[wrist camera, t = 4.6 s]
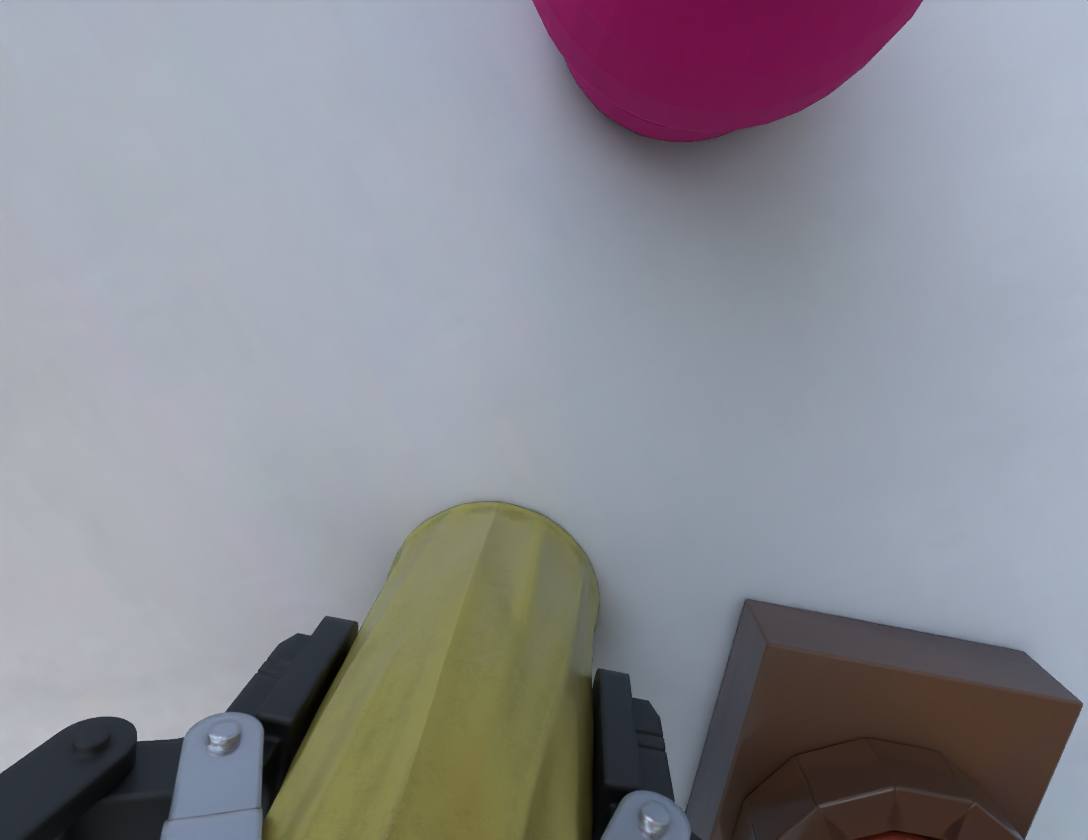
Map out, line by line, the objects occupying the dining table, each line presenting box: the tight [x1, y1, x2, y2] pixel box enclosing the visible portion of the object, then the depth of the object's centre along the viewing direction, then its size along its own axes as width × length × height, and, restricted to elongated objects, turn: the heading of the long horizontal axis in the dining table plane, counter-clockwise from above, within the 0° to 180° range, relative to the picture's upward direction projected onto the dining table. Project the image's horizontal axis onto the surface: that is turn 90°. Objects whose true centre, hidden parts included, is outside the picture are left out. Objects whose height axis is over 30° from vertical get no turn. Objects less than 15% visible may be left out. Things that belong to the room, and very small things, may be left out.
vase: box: [261, 502, 600, 840], centre depth 12 cm, size 6×6×14 cm
